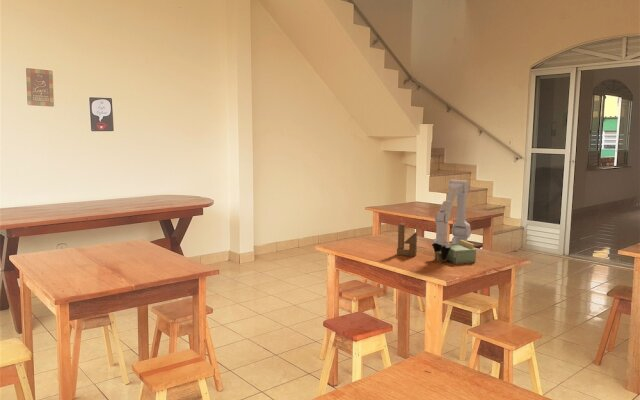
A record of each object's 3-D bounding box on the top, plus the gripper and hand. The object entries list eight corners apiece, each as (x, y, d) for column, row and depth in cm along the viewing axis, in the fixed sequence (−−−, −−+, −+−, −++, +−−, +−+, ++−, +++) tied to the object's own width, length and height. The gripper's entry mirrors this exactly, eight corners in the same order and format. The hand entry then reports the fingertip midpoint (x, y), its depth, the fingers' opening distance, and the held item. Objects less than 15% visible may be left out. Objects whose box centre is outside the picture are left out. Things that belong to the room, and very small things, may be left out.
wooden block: (415, 256, 301) (416, 225, 298) (396, 255, 305) (397, 224, 302) (416, 255, 304) (417, 224, 302) (398, 253, 308) (398, 223, 306)
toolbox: (440, 256, 301) (441, 246, 300) (459, 255, 304) (459, 245, 304) (456, 263, 286) (456, 252, 285) (475, 262, 289) (475, 251, 288)
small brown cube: (434, 260, 293) (435, 251, 292) (442, 259, 294) (443, 251, 294) (438, 262, 289) (438, 253, 289) (446, 261, 291) (446, 252, 290)
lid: (439, 251, 300) (439, 240, 299) (459, 249, 304) (460, 239, 303) (454, 257, 285) (454, 246, 284) (475, 256, 289) (476, 244, 288)
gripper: (428, 231, 296) (427, 255, 297) (441, 236, 282) (440, 261, 284) (439, 230, 298) (438, 254, 299) (453, 235, 284) (452, 260, 286)
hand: (440, 257), depth 292 cm, fingers open, 6 cm apart
